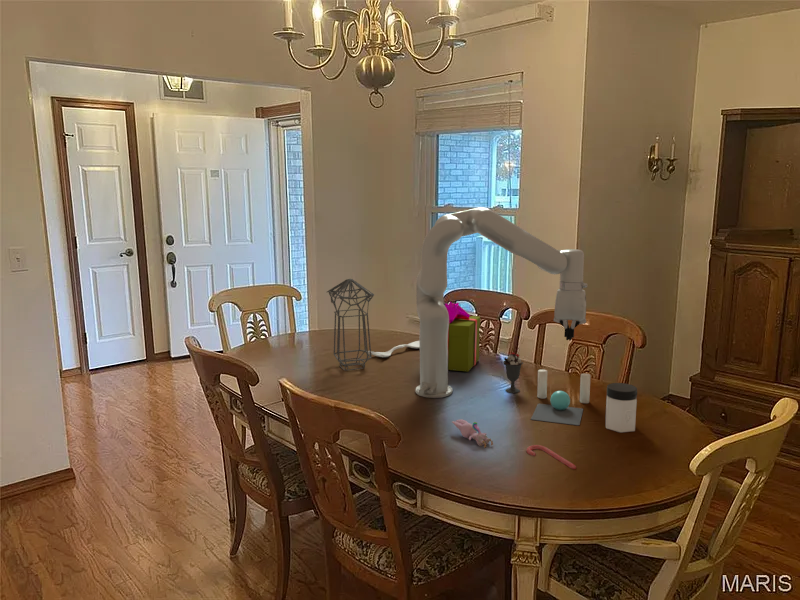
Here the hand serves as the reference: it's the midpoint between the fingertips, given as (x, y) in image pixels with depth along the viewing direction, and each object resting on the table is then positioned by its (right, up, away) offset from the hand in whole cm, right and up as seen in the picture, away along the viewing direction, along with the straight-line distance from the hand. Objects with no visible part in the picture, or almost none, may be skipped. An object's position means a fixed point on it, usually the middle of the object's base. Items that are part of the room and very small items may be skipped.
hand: (569, 339), depth 206 cm
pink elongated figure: (-38, -25, -38) cm, 59 cm away
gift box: (-37, -12, +31) cm, 50 cm away
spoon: (-57, -9, +51) cm, 77 cm away
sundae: (-19, -18, 0) cm, 26 cm away
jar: (+6, -23, -32) cm, 40 cm away
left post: (-11, -19, -6) cm, 23 cm away
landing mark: (-10, -22, -22) cm, 32 cm away
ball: (-8, -18, -18) cm, 27 cm away
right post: (+2, -19, -11) cm, 23 cm away
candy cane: (-19, -28, -51) cm, 61 cm away
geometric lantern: (-76, -13, +29) cm, 83 cm away
